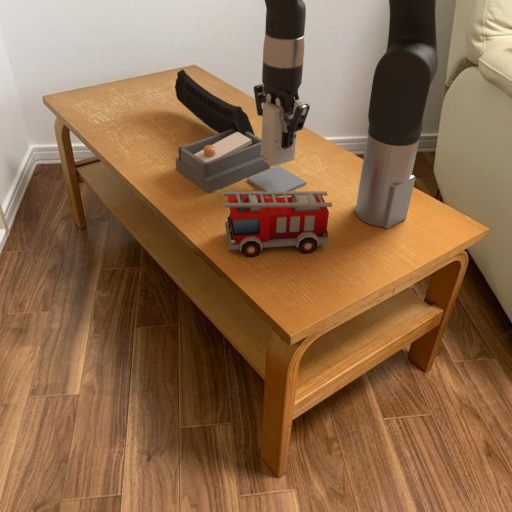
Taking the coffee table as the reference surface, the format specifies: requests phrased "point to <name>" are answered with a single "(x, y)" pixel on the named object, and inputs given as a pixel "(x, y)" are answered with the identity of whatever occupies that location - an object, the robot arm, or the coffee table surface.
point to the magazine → (210, 107)
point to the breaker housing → (220, 163)
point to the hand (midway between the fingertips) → (278, 142)
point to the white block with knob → (224, 147)
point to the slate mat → (276, 180)
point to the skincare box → (274, 137)
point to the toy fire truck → (276, 220)
